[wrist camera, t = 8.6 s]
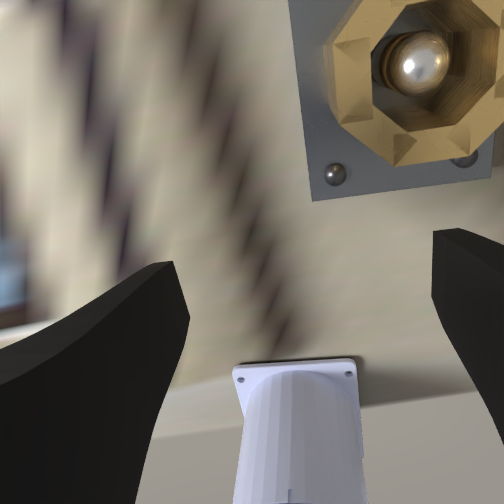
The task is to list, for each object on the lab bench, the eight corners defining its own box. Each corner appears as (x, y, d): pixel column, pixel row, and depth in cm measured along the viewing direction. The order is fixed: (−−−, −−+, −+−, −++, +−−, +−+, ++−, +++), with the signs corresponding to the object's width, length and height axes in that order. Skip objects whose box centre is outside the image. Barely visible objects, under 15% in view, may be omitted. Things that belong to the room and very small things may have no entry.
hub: (465, 121, 17) (525, 147, 12) (332, 142, 18) (343, 174, 13) (474, -38, 14) (554, -77, 10) (318, -2, 15) (327, -23, 11)
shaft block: (479, 170, 19) (541, 212, 14) (311, 193, 20) (315, 238, 15) (503, -132, 14) (612, -228, 9) (279, -74, 15) (271, -130, 10)
